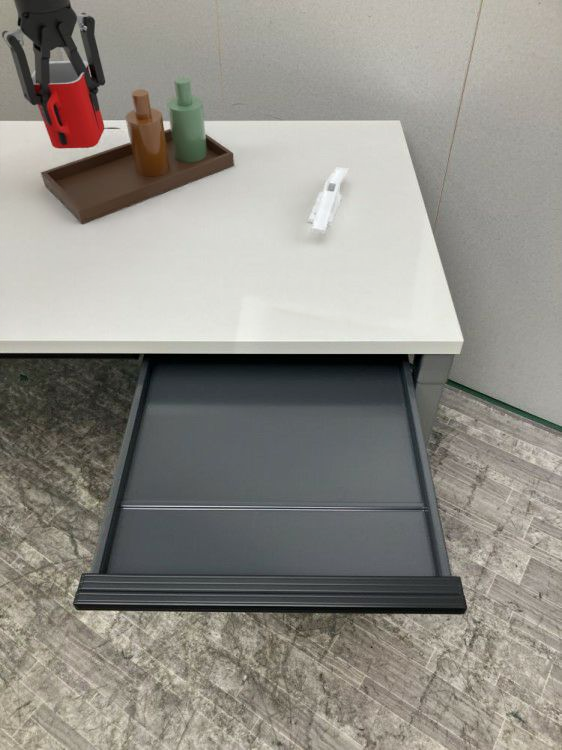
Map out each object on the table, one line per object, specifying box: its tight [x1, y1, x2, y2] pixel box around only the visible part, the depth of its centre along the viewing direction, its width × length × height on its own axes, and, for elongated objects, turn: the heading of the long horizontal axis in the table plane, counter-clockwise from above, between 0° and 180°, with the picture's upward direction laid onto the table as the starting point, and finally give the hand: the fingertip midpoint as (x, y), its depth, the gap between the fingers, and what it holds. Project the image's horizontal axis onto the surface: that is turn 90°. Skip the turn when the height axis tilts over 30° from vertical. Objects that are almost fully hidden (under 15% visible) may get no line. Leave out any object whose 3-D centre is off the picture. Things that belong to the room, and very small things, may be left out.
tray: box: [40, 128, 235, 225], centre depth 110 cm, size 32×16×3 cm, turn 128°
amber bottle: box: [124, 89, 170, 177], centre depth 106 cm, size 6×6×14 cm
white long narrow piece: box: [307, 166, 349, 235], centre depth 102 cm, size 4×20×5 cm, turn 164°
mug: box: [31, 60, 105, 149], centre depth 95 cm, size 12×8×11 cm
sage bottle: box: [166, 76, 207, 162], centre depth 110 cm, size 6×6×14 cm
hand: (78, 136), depth 99 cm, fingers open, 5 cm apart
